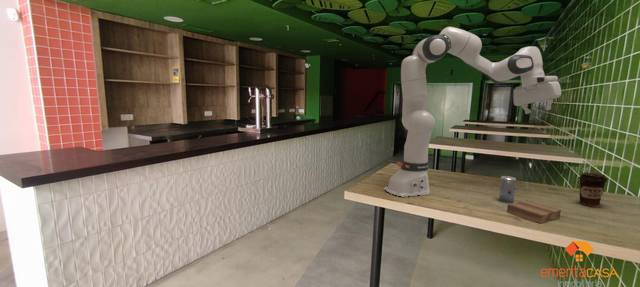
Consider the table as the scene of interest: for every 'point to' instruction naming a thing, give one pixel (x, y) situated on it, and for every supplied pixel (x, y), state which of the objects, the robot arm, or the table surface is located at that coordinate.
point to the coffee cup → (591, 188)
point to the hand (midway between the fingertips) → (537, 111)
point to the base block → (533, 211)
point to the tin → (507, 189)
